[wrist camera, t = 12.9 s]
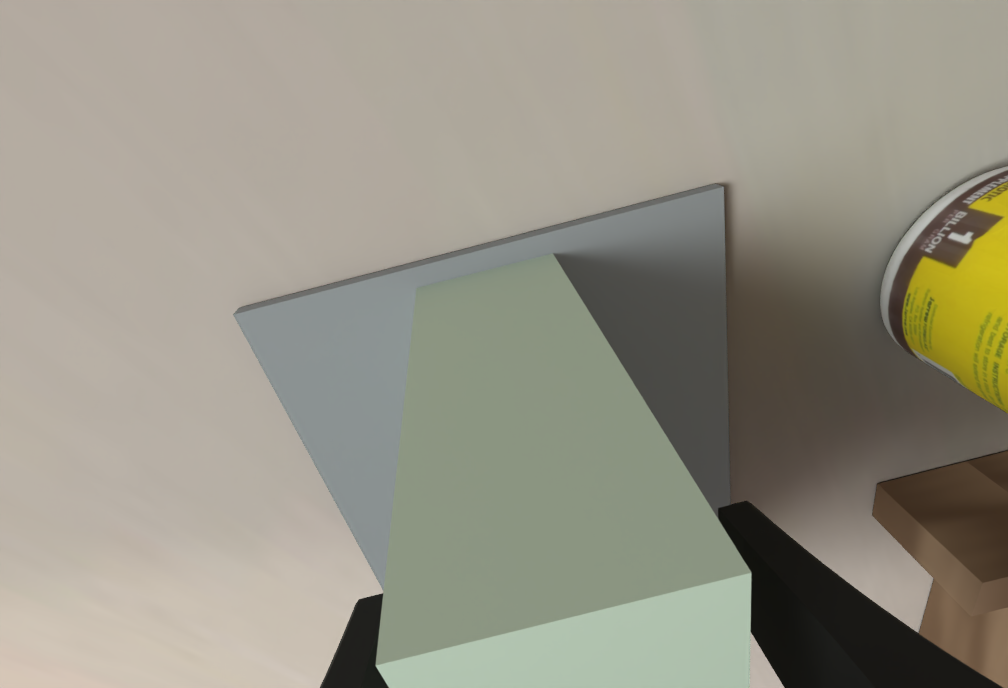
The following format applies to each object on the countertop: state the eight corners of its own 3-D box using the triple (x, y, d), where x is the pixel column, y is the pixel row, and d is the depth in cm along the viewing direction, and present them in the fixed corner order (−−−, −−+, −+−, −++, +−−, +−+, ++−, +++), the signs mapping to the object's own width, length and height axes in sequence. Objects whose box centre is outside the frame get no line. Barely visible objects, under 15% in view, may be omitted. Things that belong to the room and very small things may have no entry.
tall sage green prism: (512, 576, 18) (571, 984, 10) (416, 288, 12) (375, 666, 5) (608, 552, 18) (745, 943, 10) (552, 253, 12) (751, 572, 4)
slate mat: (397, 605, 18) (396, 615, 18) (239, 307, 13) (233, 314, 12) (725, 522, 18) (731, 531, 18) (716, 183, 12) (723, 186, 12)
